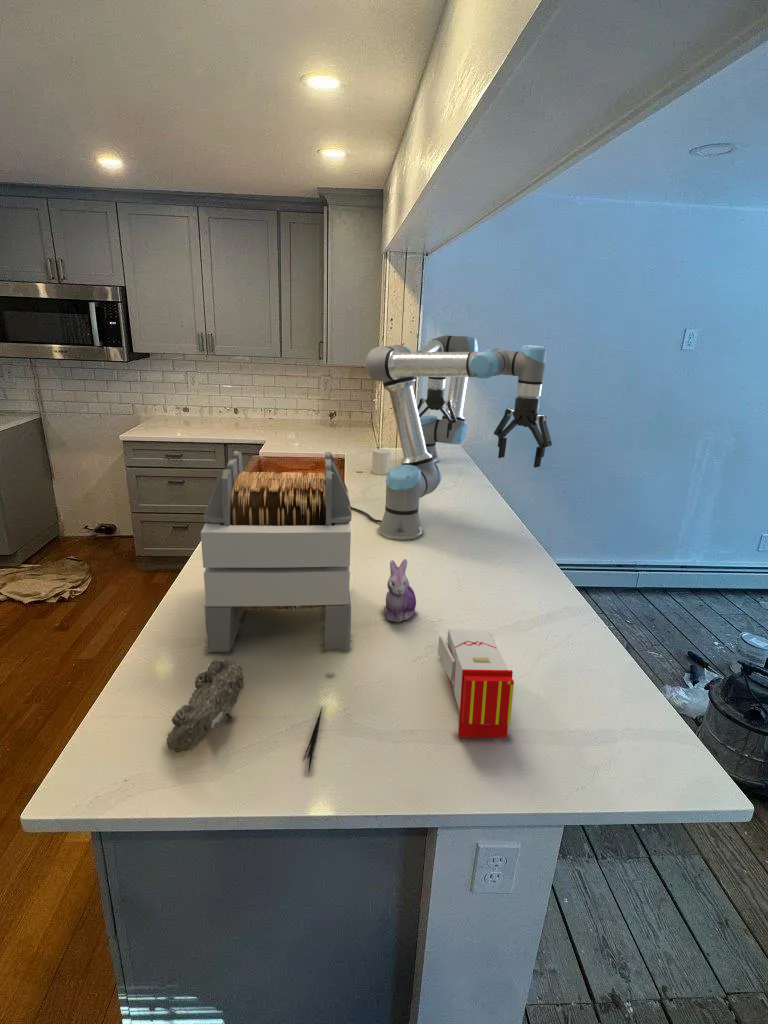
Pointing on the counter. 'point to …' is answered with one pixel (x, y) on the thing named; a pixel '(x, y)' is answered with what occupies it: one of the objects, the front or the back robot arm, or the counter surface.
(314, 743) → the feather
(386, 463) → the canister
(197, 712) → the fossil
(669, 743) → the counter surface
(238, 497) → the transformer
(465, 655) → the toy
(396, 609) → the figurine
